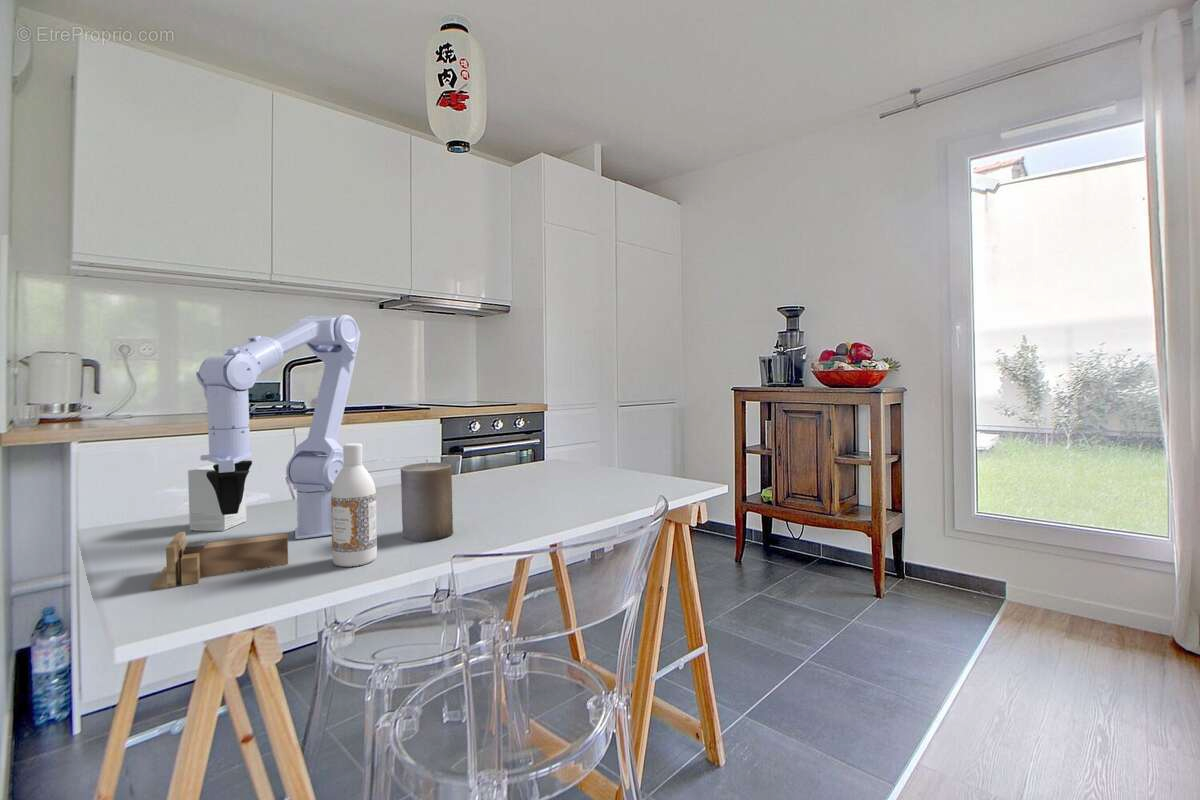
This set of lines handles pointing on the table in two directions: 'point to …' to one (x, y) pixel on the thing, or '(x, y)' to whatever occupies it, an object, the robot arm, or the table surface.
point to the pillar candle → (426, 501)
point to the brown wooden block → (240, 554)
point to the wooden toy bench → (178, 565)
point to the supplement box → (209, 504)
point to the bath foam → (353, 512)
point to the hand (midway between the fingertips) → (232, 508)
